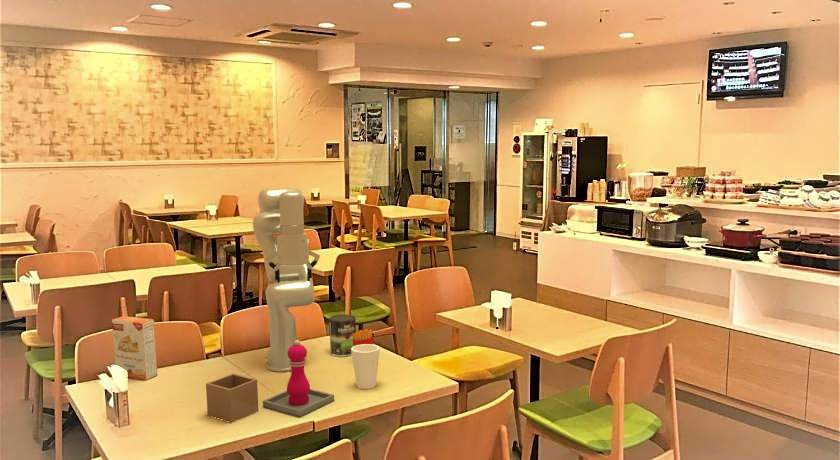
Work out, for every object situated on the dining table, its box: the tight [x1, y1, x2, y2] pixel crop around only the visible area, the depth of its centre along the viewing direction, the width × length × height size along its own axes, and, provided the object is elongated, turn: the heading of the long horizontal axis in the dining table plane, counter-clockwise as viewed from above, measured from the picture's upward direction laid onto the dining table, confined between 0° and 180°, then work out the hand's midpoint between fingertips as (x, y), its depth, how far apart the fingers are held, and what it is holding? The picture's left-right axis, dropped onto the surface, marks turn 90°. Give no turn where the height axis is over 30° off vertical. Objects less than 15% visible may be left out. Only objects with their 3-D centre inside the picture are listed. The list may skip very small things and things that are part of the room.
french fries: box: [352, 328, 374, 346], centre depth 254 cm, size 8×4×12 cm, turn 128°
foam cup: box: [350, 344, 381, 390], centre depth 228 cm, size 10×9×13 cm
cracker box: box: [111, 315, 158, 381], centre depth 240 cm, size 14×6×21 cm, turn 68°
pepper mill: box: [286, 339, 311, 405], centre depth 213 cm, size 7×7×20 cm
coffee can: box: [328, 314, 357, 358], centre depth 265 cm, size 10×10×14 cm
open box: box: [205, 373, 259, 424], centre depth 206 cm, size 11×11×10 cm
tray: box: [262, 388, 335, 418], centre depth 214 cm, size 16×16×2 cm
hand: (293, 281), depth 223 cm, fingers open, 9 cm apart
